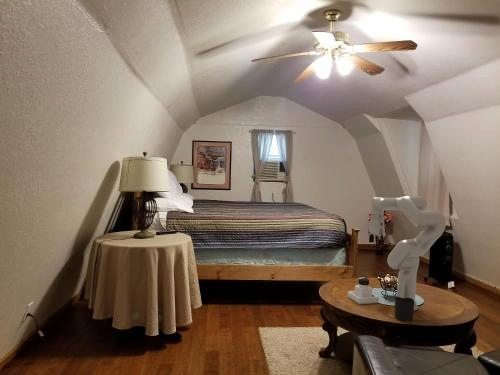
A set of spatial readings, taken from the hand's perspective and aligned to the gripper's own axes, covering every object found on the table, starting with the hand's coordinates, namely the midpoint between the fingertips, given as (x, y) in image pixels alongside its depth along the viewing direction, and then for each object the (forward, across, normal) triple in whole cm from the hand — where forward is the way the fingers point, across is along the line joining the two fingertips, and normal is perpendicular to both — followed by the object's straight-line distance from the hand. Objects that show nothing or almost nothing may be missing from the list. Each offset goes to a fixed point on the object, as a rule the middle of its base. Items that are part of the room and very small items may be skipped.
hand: (375, 243), depth 242 cm
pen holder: (+31, -42, +10) cm, 53 cm away
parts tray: (+30, -13, +16) cm, 37 cm away
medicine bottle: (+30, -13, +16) cm, 36 cm away
